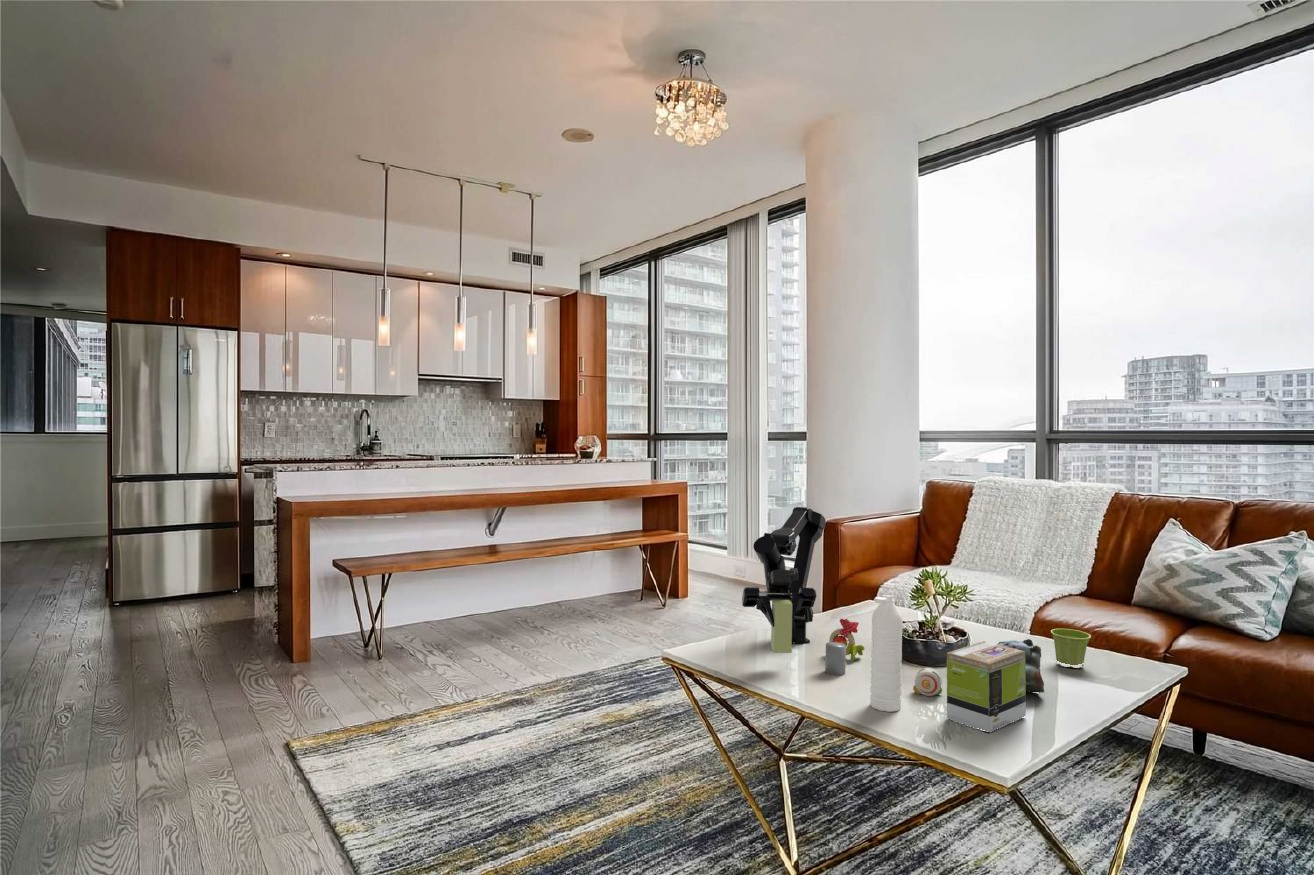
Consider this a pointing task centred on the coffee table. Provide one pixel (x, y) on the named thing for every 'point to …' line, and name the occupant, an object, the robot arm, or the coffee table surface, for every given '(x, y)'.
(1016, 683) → the tea box
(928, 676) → the roller toy
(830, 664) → the grey cylinder
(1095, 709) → the coffee table surface
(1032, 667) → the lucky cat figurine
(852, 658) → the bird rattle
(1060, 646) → the plant pot
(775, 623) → the olive brick
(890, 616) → the water bottle
